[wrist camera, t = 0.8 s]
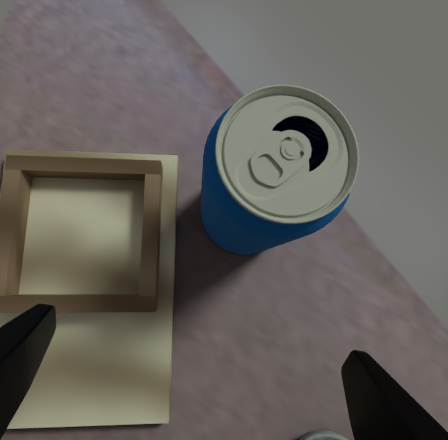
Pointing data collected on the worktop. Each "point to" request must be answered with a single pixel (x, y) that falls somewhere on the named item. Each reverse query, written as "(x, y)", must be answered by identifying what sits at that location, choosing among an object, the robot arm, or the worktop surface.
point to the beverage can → (276, 169)
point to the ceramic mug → (322, 435)
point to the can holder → (92, 281)
